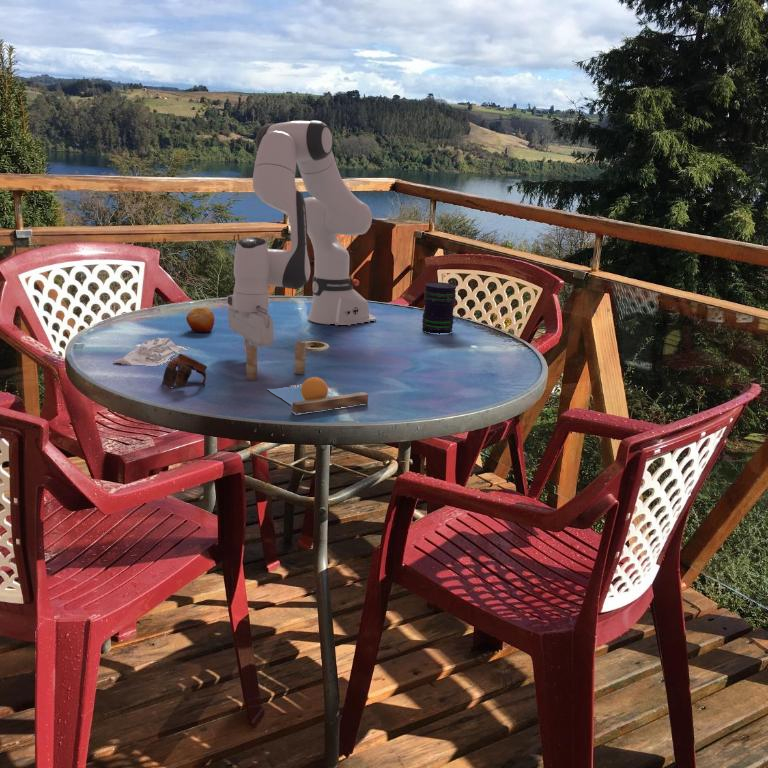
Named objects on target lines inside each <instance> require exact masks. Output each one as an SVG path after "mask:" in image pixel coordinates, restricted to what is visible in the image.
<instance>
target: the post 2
mask: <svg viewBox="0 0 768 768" xmlns="http://www.w3.org/2000/svg"><path fill="white" fill-rule="evenodd" d="M306 344H307V342H306V341H304V340H303V341H302V340H298V341H295V342H294V372H293V373H294V375H297V374H303V375H305V374H304V373H306V352H307V351H306V349H307V348H306Z"/></svg>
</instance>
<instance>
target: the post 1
mask: <svg viewBox="0 0 768 768" xmlns="http://www.w3.org/2000/svg"><path fill="white" fill-rule="evenodd" d="M245 354H246V357H245V358H246V361H245V365H246V367H245V368H246V369H245V371H246V372H245V374H246V375H245V379H247V381H249V380H254V381H256V379H258V346H247V347H246V353H245Z"/></svg>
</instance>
